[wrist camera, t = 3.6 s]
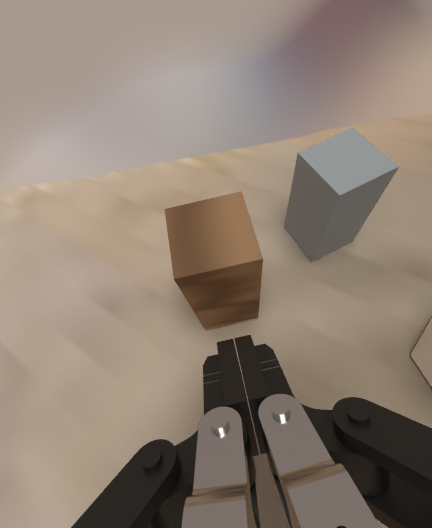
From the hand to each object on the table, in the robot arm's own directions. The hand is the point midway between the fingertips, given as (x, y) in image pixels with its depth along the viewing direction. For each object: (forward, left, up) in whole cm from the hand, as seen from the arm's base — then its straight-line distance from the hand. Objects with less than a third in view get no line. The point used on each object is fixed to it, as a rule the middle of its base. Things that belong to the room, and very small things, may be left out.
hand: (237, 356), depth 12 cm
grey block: (-11, -12, -13) cm, 21 cm away
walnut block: (0, -7, -13) cm, 15 cm away
